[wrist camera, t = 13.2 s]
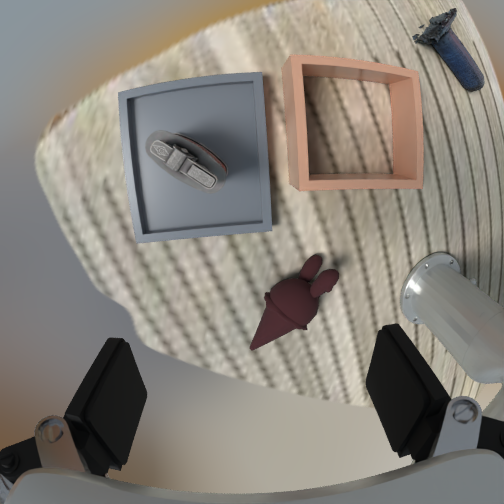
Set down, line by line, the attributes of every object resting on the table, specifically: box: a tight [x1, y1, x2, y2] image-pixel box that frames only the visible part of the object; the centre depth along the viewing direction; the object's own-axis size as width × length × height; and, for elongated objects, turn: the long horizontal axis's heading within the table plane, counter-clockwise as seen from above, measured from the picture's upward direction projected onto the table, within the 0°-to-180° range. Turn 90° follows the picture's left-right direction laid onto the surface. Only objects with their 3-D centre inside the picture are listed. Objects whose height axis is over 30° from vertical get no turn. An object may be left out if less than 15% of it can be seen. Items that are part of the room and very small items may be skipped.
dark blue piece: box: [413, 8, 485, 92], centre depth 24 cm, size 9×8×12 cm
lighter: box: [145, 130, 228, 194], centre depth 26 cm, size 8×3×10 cm, turn 55°
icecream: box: [250, 255, 339, 350], centre depth 35 cm, size 7×7×15 cm
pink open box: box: [282, 55, 424, 191], centre depth 28 cm, size 15×14×6 cm
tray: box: [118, 72, 272, 243], centre depth 30 cm, size 16×18×2 cm
